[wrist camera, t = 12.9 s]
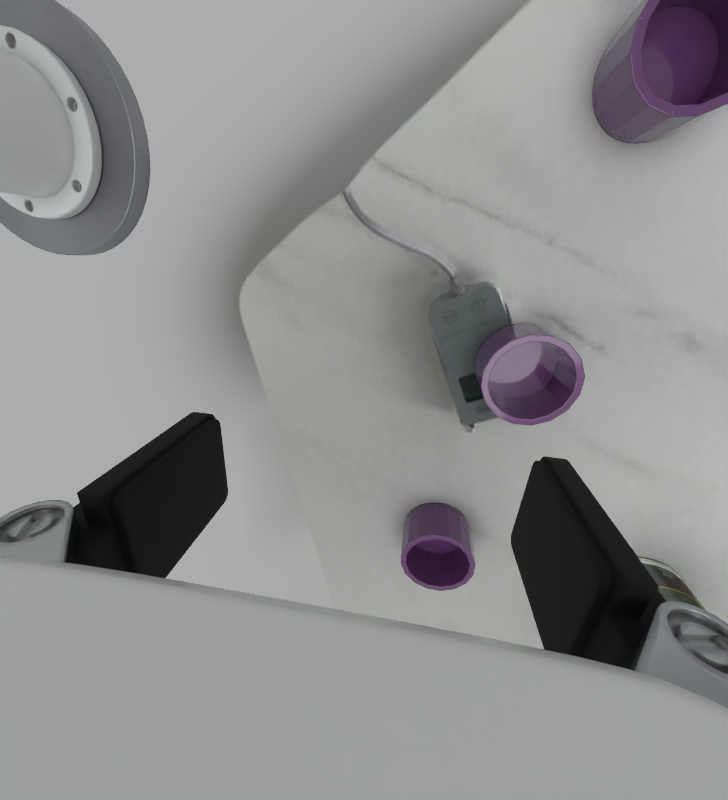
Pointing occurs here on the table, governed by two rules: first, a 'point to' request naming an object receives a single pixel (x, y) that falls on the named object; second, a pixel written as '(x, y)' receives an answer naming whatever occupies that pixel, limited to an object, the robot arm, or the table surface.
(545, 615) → the robot arm
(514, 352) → the dish middle
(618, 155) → the table surface
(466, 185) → the table surface
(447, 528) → the dish far
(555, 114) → the table surface
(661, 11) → the dish near
